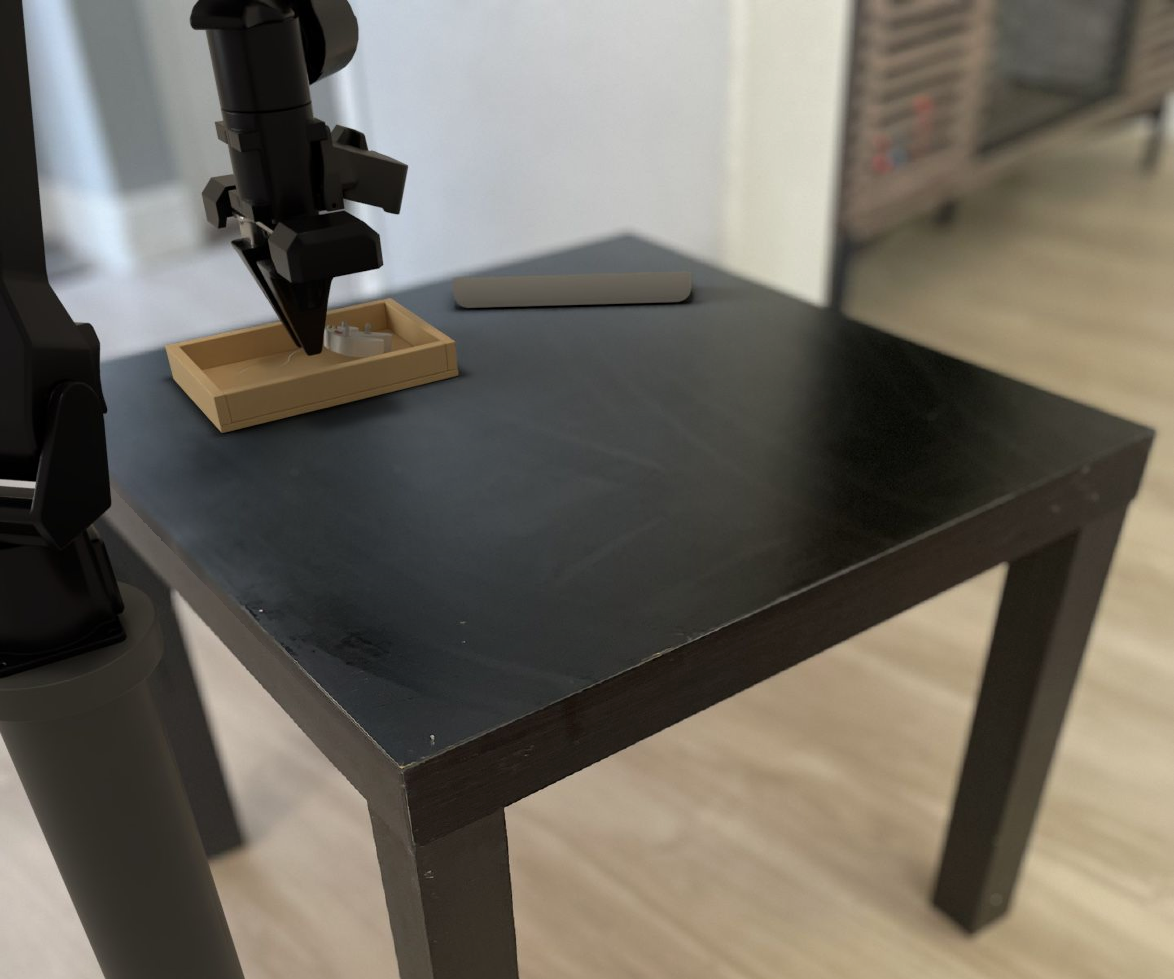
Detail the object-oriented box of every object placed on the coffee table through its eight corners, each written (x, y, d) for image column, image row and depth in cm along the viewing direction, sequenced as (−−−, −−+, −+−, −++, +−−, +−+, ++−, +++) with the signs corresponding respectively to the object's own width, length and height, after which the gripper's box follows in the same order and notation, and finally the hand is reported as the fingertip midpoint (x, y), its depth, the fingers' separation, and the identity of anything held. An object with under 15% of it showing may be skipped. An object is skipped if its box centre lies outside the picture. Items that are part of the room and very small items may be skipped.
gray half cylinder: (457, 292, 102) (455, 270, 101) (690, 286, 101) (690, 264, 100) (452, 310, 99) (450, 287, 97) (693, 303, 98) (693, 280, 97)
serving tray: (221, 433, 81) (213, 397, 79) (173, 379, 89) (164, 345, 87) (459, 375, 88) (455, 340, 86) (394, 329, 95) (390, 297, 94)
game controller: (412, 353, 89) (407, 316, 88) (289, 394, 82) (282, 355, 80) (360, 343, 92) (354, 307, 91) (237, 382, 85) (229, 343, 84)
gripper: (444, 110, 74) (468, 365, 84) (331, 69, 86) (363, 294, 96) (268, 136, 69) (315, 401, 79) (177, 88, 82) (227, 322, 92)
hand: (309, 350), depth 87 cm, fingers closed on game controller, 2 cm apart
